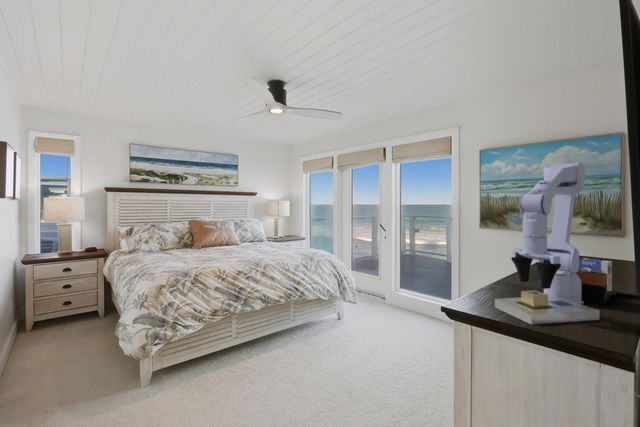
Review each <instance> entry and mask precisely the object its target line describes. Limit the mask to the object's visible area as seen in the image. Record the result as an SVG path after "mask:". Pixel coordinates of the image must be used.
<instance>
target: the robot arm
mask: <svg viewBox="0 0 640 427" xmlns="http://www.w3.org/2000/svg"><path fill="white" fill-rule="evenodd" d="M542 172H543V174H542V175H543V180H539V181H538V182H537V183H536V184H535V185H534V187H533V188H532V189H531V190H530V192H529V193H526V194H524V195H522V196H520V198H519V201H518V209H519V212H520V220H521V221H522V248H512V257H510V258H511V261H512V263H513V264H514V266H515V268H516V271H517V274H518V277H519V282H522V283H524V282H527V283H528V282H529V280H530V273H531V272H530V271H531V266H532V262H533V260H536V262H535V263H536V267H537V270H538V272H539V284H540V283H541V284H540V288H541V289H543V293H545V294H548V296H554V295H555V296H558V297H561V298H564V299H567V300H570V301H573V302H576V303H579V304H584V303H585V301H581V293H582V283H581V279H580V278H579V276H578V275H577V272H578V271H579V270H580V252H579V250H578V248H577V247H576V246H574V245H573V244H571V243H570V240H571V239H570V238H571V231H572V223H573V218H574V217H573V216H574V209H575V208H574V207H575V201H576V196H577V194H578V193H579V192H582V191H583V190H584V186H585V181H586V180H585V179H586V167H585V164H584V163H583V162H582V161H577V162H570V163H568V162H567V163H558V164H556V163H555V164H547V165H545V166H544V168H543V171H542ZM555 197H556V200H555V206H554V212H553V213H554V214H553V221H552V229H551V236H550V240H549V241H548V215H549V214H550V212H551V209H552V205H553V200H554V198H555Z"/></svg>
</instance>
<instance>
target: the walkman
mask: <svg viewBox="0 0 640 427" xmlns="http://www.w3.org/2000/svg"><path fill="white" fill-rule="evenodd" d="M581 269H588V271H592V272H595V271H594V270H602V271H603V272H601V273H606V274H607V291H613V261H612V260H604V259H603V260H602V259H595V258H594V259H593V258H587V257H586V258H585V257H583V258H579V271H580V270H581Z"/></svg>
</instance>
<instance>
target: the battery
mask: <svg viewBox="0 0 640 427" xmlns="http://www.w3.org/2000/svg"><path fill="white" fill-rule="evenodd" d="M594 271H595V272H592V271H588V269H581V270H580V269H579V270H578V272H576V275H578V276H579V278H580V279H581V283H582V293H581V301H583V302H584V303H585V302H586V303H592V304H598V305H605V304H606V303H607V301H608V298H607V274H606V273H601V272H603V271H602V270H594Z"/></svg>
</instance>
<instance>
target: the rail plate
mask: <svg viewBox="0 0 640 427" xmlns="http://www.w3.org/2000/svg"><path fill="white" fill-rule="evenodd" d="M494 308H496V309H498V310H500V311H502V312H504V313H506V314H508V315H509V316H512V317H515V318H517V319H519V320H522V321H523V322H524V323H525V322H526V323H527V324H529V325H544V324H557V323H571V322H585V321H586V322H587V321H598V320H600V310H599V309H598V308H594V307H591V306H587V305H584V304H583V303H580V304H579V303H576V302H573V301H570V300H567V299H564V298H561V297H558V296H555V295H554V296H548V309H536V310H532V309H530V308H528V307H525V306H523V305H521V296H520V297H507V298H504V297H503V298H494Z"/></svg>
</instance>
